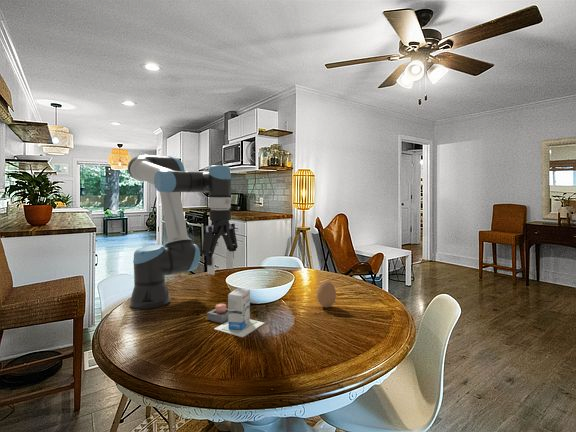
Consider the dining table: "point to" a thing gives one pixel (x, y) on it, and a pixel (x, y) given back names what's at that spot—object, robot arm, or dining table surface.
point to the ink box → (239, 308)
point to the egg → (326, 294)
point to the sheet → (246, 330)
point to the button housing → (217, 316)
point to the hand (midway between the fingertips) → (220, 271)
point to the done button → (221, 308)
